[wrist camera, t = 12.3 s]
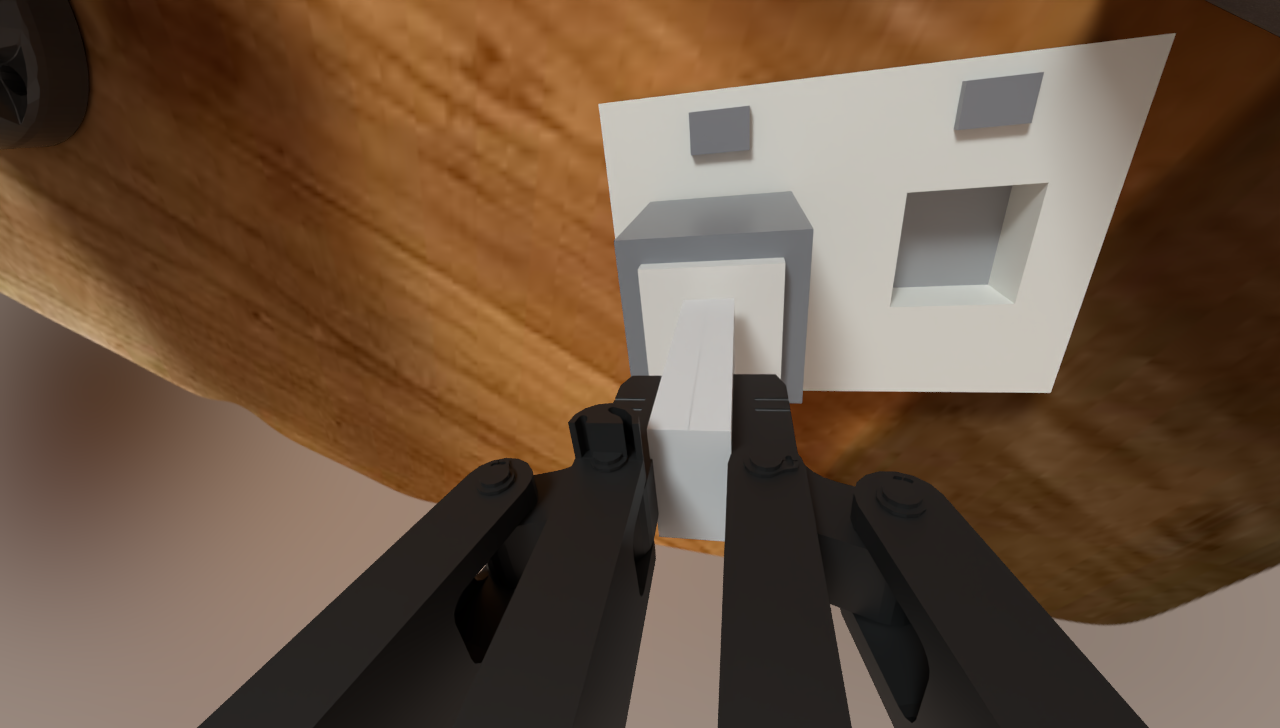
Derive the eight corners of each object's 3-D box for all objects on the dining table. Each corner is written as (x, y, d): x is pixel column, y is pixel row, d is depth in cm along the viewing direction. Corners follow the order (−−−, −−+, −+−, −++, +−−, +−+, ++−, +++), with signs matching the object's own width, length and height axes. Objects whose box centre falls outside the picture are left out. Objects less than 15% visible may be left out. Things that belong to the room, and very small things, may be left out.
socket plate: (643, 363, 29) (632, 392, 26) (614, 104, 23) (596, 104, 20) (1018, 362, 25) (1055, 397, 22) (1114, 43, 18) (1185, 31, 15)
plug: (669, 304, 26) (630, 409, 17) (660, 191, 24) (609, 245, 14) (781, 300, 25) (803, 412, 16) (785, 181, 22) (816, 233, 13)
